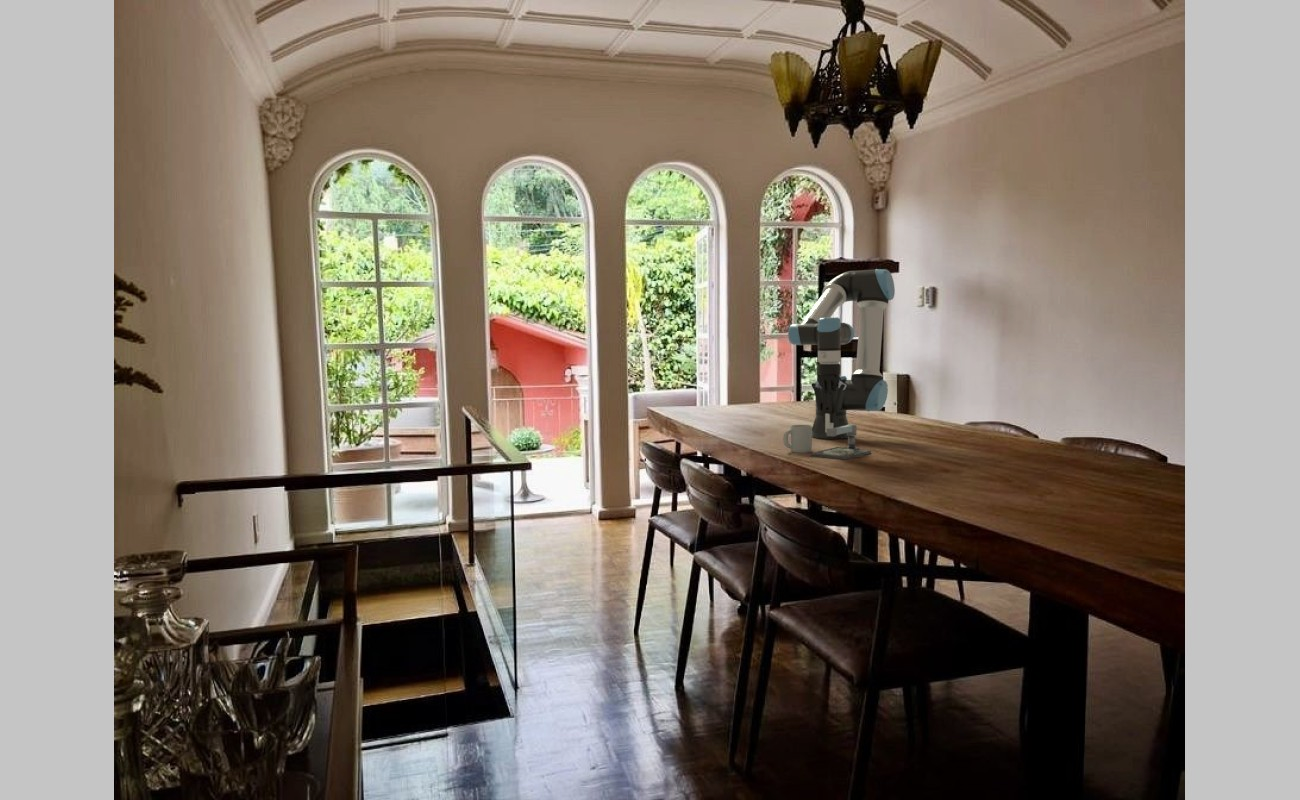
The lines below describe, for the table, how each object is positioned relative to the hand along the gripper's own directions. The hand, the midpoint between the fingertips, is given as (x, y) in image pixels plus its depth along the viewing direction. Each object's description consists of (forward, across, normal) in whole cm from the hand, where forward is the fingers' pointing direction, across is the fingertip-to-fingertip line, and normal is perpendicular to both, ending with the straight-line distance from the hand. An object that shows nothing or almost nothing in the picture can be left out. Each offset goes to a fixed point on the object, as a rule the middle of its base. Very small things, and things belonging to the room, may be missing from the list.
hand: (829, 432), depth 275 cm
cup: (+7, -10, -5) cm, 13 cm away
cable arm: (+1, +6, -2) cm, 6 cm away
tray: (+7, +6, -2) cm, 9 cm away
